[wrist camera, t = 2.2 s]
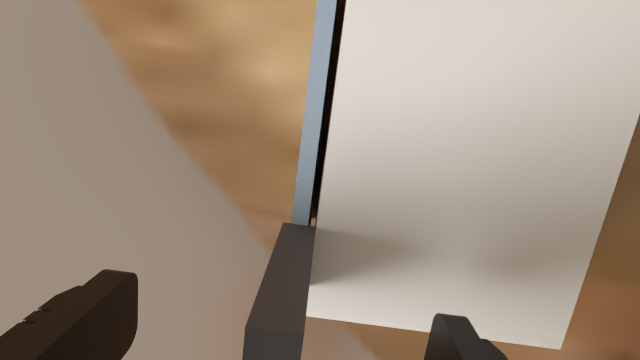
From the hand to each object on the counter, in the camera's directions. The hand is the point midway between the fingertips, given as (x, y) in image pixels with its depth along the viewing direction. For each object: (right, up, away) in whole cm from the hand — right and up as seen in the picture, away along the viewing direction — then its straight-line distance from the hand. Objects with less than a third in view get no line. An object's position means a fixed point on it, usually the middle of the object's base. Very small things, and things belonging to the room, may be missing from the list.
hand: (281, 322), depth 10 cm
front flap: (+1, +8, +12) cm, 14 cm away
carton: (+7, +7, +12) cm, 16 cm away
